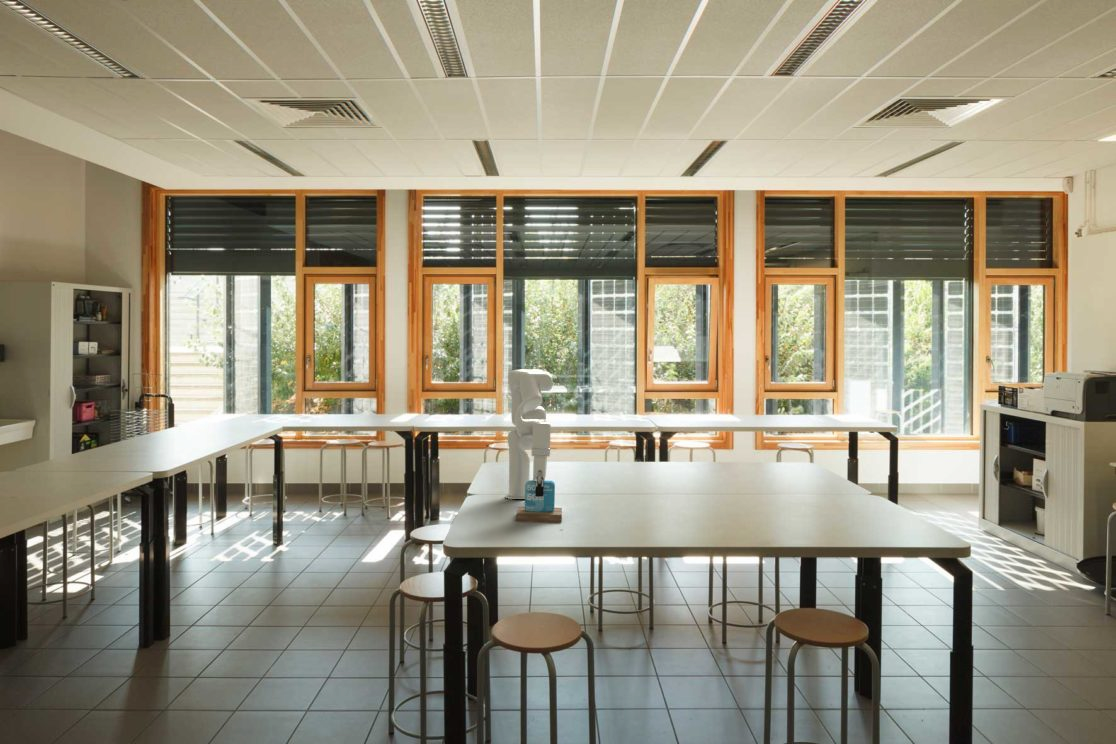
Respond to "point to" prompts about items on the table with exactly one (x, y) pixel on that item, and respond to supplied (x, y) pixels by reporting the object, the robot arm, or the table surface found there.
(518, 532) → the table surface
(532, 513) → the base plate
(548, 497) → the data package
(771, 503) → the table surface
